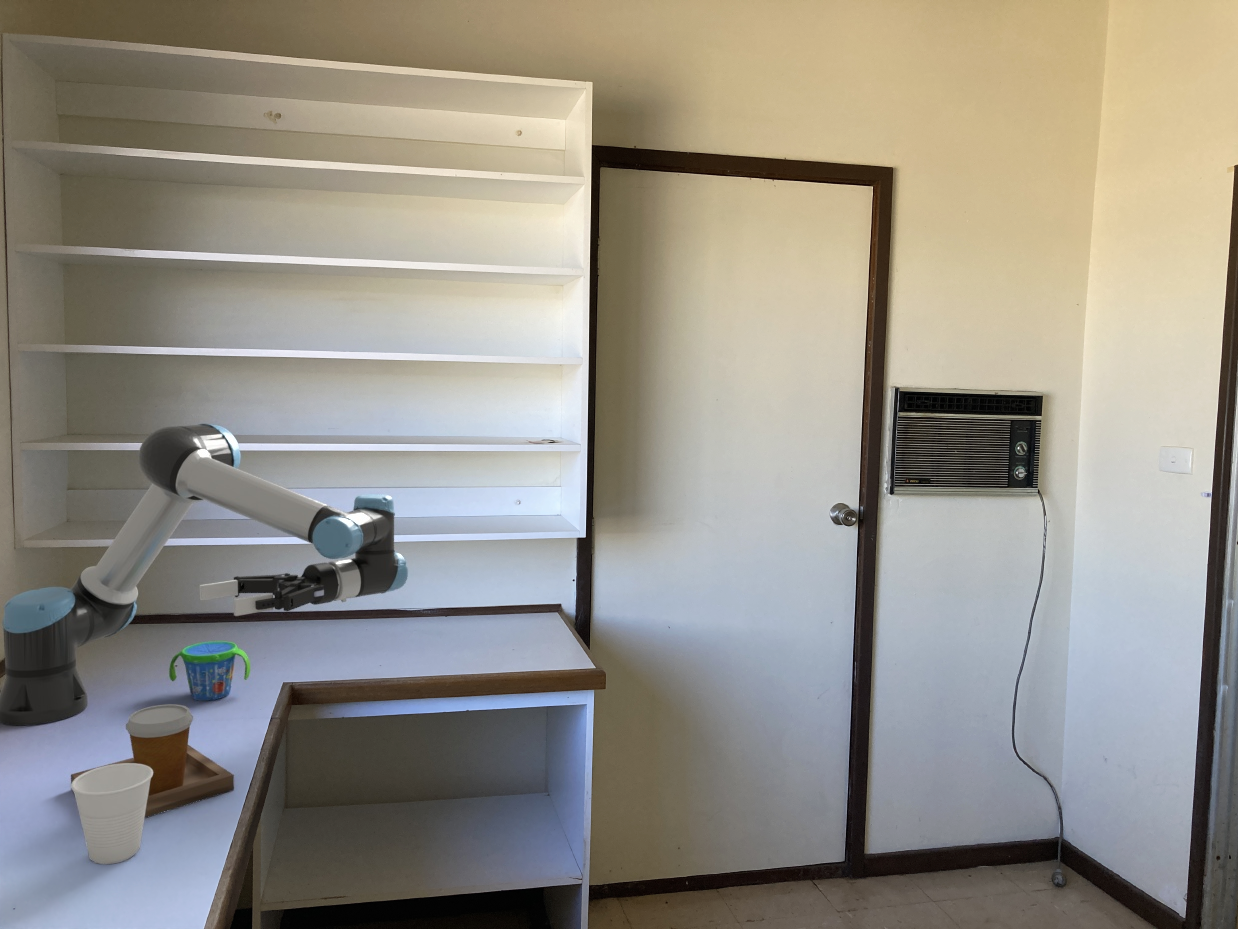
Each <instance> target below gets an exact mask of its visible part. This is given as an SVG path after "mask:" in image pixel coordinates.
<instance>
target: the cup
mask: <svg viewBox="0 0 1238 929" xmlns="http://www.w3.org/2000/svg"><path fill="white" fill-rule="evenodd" d="M106 765H107V766H104V765H102V766H103V767H100V766H98V767H99V768H97V767H95V768H96V769H93V768H92V769H93V770H90V771H88V772H85V773H83V774H81V775H80V776H78V777H77V778H75V779H74V781H73V782H72V784H71V783H70V789H72V790H73V791H74V797H75V801H76V802H75V803H76V806H77V810H78V814H79V818H80V823H81V826H82V832H83V835H84V839H85V844H86V848H87V853H88V857H89V859H90V860H91V861H92V862H93V863H95V864H99V865H113V864H117V863H121V862H124V861H126V860H128V859H131V858H132V857H134V855H136V853H137V852H139V850H140V847H141V842H142V835H143V831H144V830H143V828H144V823H145V818H144V817H145V810H146V804H147V799H148V792H149V786H150V780H151V777H152V776H153V770H152V769H151V768H150V767H149V766H146V765H143V764H137V763H121V764H113V765H108V764H106ZM72 790H71V791H72ZM73 791H72V792H73Z"/></svg>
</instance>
